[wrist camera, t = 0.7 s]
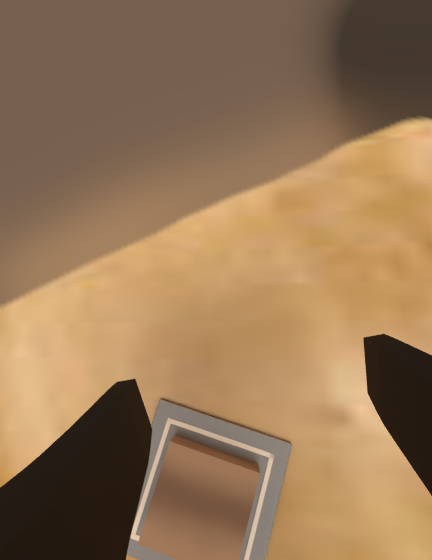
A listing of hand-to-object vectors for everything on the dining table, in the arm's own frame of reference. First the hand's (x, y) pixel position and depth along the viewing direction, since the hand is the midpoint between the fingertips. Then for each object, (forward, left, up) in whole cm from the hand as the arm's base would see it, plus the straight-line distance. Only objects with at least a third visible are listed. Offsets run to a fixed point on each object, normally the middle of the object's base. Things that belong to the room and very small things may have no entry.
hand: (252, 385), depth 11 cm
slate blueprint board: (-11, 0, -24) cm, 26 cm away
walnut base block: (-11, 0, -23) cm, 26 cm away
